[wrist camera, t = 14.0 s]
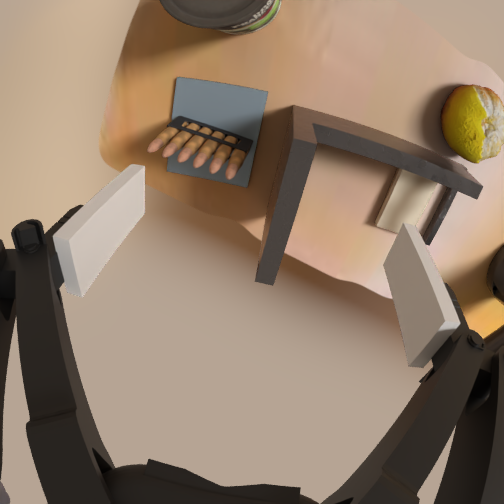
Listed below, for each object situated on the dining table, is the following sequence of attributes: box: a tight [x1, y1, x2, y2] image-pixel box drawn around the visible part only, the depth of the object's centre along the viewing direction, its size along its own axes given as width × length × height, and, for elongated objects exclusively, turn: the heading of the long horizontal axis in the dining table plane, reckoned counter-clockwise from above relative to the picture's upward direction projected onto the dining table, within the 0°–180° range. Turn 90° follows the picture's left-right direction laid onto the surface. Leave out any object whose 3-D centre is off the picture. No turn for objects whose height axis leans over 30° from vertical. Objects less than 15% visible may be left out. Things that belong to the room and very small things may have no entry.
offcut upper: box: [375, 169, 437, 233], centre depth 42 cm, size 6×10×1 cm, turn 167°
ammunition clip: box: [147, 116, 253, 180], centre depth 36 cm, size 11×2×12 cm, turn 70°
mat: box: [167, 77, 268, 188], centre depth 41 cm, size 12×14×1 cm
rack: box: [255, 105, 483, 285], centre depth 36 cm, size 26×16×16 cm, turn 79°
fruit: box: [441, 85, 504, 163], centre depth 32 cm, size 11×10×8 cm
